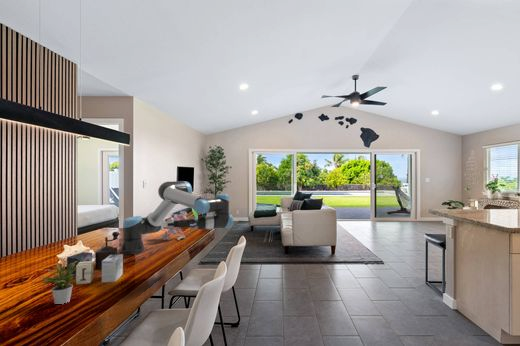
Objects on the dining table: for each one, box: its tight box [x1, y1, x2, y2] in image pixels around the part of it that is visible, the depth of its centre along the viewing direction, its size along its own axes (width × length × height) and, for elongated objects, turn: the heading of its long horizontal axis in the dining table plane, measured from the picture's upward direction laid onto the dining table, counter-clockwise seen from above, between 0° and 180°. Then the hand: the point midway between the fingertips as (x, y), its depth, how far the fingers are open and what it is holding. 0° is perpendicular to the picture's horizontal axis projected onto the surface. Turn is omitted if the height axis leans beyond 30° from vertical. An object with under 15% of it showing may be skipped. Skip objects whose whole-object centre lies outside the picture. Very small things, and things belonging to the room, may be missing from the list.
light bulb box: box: [101, 253, 124, 283], centre depth 145 cm, size 11×7×11 cm, turn 8°
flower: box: [161, 209, 188, 241], centre depth 232 cm, size 20×22×25 cm
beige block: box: [75, 260, 94, 285], centre depth 141 cm, size 6×6×9 cm
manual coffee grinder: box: [94, 231, 120, 270], centre depth 167 cm, size 16×11×18 cm
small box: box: [66, 251, 93, 279], centre depth 150 cm, size 11×6×10 cm, turn 168°
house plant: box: [39, 261, 77, 305], centre depth 119 cm, size 14×14×16 cm
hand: (160, 224), depth 153 cm, fingers closed
